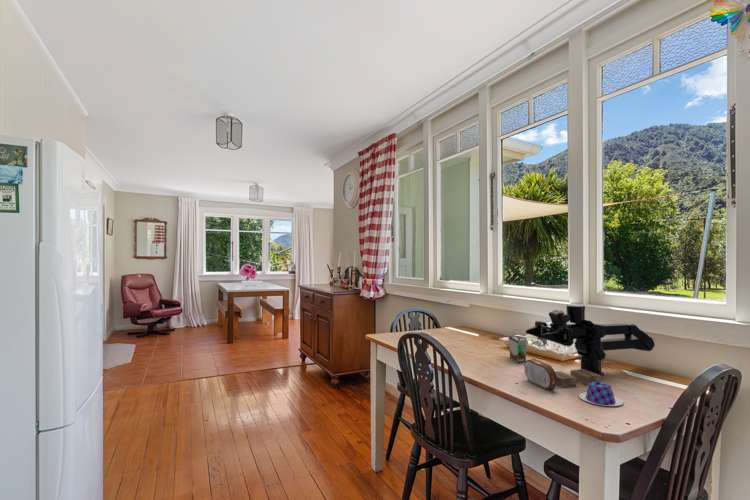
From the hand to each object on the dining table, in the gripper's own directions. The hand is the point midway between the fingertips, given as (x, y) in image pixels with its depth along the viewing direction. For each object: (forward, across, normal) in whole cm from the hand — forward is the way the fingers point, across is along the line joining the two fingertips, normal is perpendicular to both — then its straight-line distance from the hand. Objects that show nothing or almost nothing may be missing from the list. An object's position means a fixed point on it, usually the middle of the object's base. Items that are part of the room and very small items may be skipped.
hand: (533, 333), depth 140 cm
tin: (+4, +8, +17) cm, 19 cm away
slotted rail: (-10, +8, +16) cm, 21 cm away
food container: (-9, -23, +17) cm, 30 cm away
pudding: (-6, +25, +17) cm, 31 cm away
